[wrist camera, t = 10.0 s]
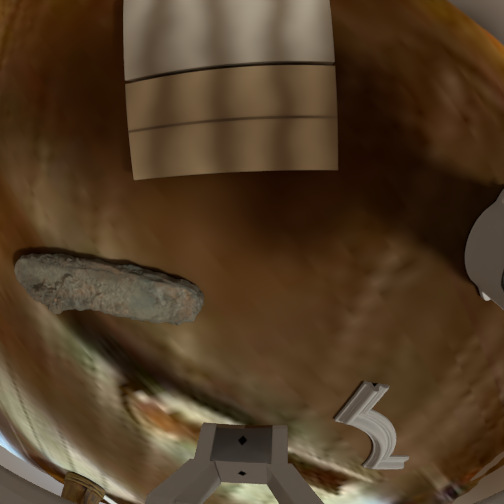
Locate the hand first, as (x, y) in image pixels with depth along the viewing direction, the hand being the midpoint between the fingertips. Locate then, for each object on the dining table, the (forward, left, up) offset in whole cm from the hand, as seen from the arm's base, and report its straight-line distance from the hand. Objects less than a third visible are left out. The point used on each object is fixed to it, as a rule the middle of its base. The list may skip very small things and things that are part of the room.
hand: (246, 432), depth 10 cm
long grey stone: (+27, +11, -32) cm, 43 cm away
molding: (-25, +51, -32) cm, 65 cm away
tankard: (+74, +106, -31) cm, 133 cm away
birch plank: (+4, -23, -31) cm, 39 cm away
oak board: (+4, -10, -31) cm, 33 cm away
